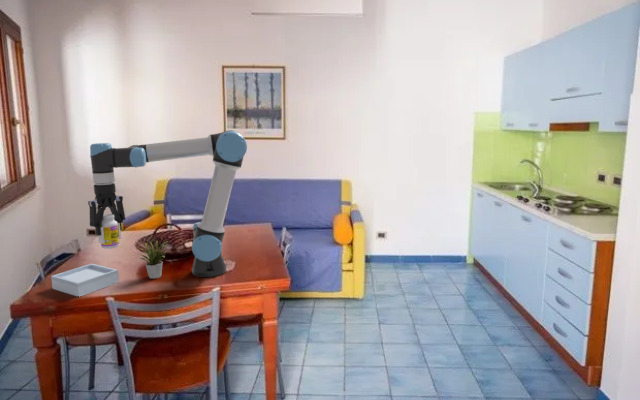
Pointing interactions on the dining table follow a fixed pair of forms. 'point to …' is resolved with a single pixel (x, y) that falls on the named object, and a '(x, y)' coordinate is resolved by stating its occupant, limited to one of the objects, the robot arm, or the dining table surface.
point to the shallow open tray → (85, 279)
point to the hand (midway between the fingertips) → (110, 240)
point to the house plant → (154, 260)
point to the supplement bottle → (110, 232)
